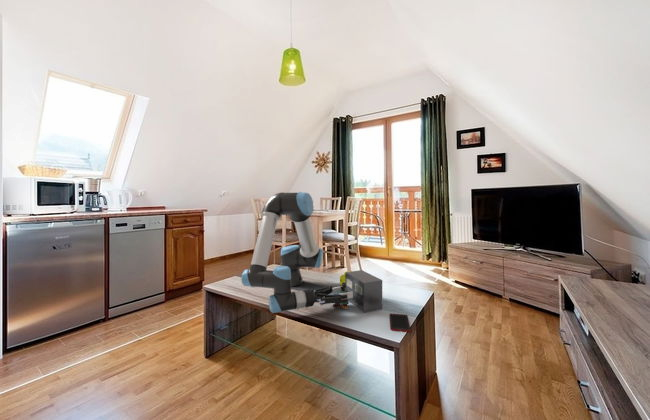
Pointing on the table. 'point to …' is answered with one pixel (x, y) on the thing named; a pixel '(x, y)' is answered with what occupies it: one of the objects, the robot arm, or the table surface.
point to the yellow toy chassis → (342, 278)
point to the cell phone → (399, 323)
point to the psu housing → (364, 290)
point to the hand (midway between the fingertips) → (348, 291)
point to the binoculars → (344, 301)
